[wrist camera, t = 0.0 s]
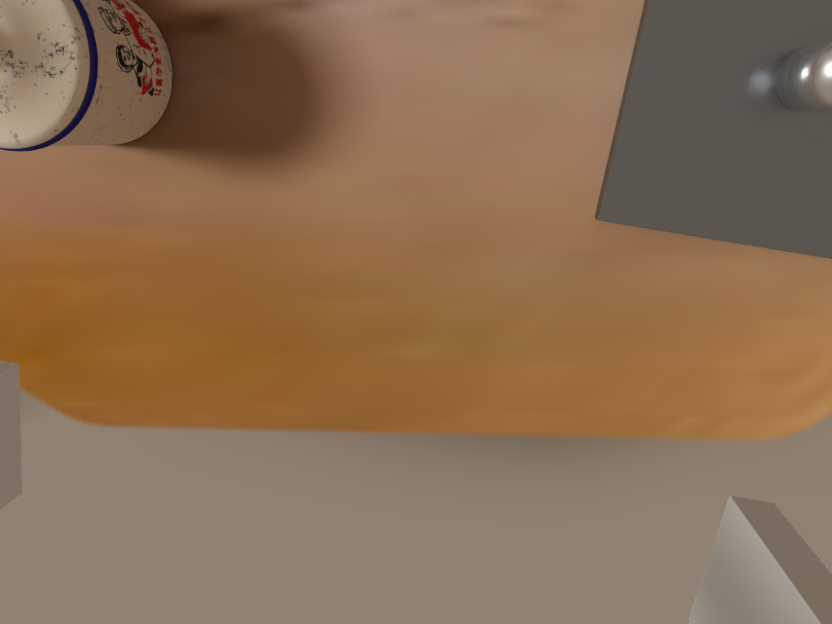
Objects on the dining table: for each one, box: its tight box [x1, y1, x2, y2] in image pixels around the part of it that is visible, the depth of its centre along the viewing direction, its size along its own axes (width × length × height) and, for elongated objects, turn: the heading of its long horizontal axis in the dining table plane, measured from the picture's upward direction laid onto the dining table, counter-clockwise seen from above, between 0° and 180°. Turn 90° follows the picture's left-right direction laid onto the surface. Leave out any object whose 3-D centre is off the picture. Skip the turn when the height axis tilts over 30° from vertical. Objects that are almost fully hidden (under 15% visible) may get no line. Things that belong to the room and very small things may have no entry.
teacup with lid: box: [0, 0, 172, 151], centre depth 32 cm, size 12×9×12 cm
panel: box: [595, 0, 832, 259], centre depth 31 cm, size 18×18×6 cm
